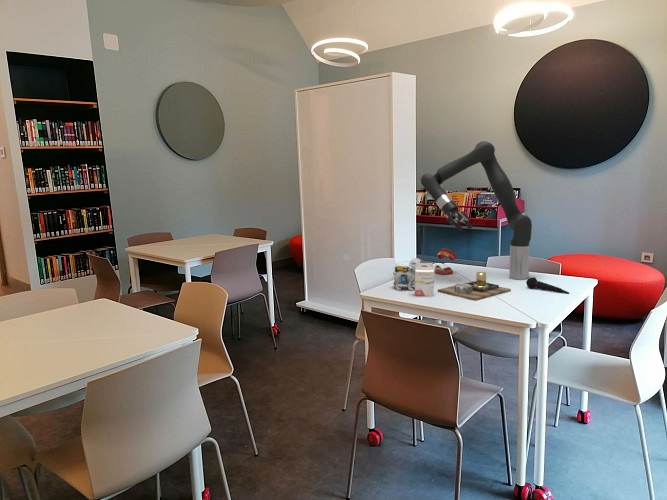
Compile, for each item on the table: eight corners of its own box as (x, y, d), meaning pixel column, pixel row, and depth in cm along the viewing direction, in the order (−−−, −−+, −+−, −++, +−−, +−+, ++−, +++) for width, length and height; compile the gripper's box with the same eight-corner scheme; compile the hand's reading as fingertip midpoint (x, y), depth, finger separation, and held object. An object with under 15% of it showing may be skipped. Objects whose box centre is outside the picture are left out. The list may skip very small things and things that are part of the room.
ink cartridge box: (415, 296, 229) (415, 265, 226) (414, 293, 234) (414, 263, 231) (434, 296, 228) (434, 264, 225) (433, 293, 233) (433, 262, 230)
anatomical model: (428, 272, 276) (435, 246, 277) (436, 275, 281) (443, 250, 282) (444, 275, 268) (451, 248, 269) (452, 278, 273) (459, 252, 275)
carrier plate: (472, 283, 251) (473, 275, 250) (510, 291, 233) (511, 282, 233) (437, 291, 236) (437, 283, 235) (475, 300, 218) (475, 291, 218)
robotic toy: (425, 292, 236) (425, 261, 233) (389, 290, 241) (388, 260, 239) (428, 286, 247) (428, 256, 245) (394, 284, 253) (394, 255, 251)
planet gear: (479, 285, 241) (479, 270, 240) (492, 288, 235) (493, 272, 234) (469, 288, 237) (469, 272, 236) (482, 291, 231) (482, 275, 229)
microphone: (569, 299, 228) (527, 287, 241) (572, 287, 227) (530, 276, 241) (565, 298, 224) (523, 286, 237) (569, 286, 223) (526, 275, 237)
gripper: (442, 201, 244) (462, 225, 237) (459, 199, 253) (479, 222, 246) (434, 211, 249) (453, 235, 242) (451, 209, 258) (470, 232, 251)
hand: (466, 229), depth 244 cm, fingers open, 8 cm apart
